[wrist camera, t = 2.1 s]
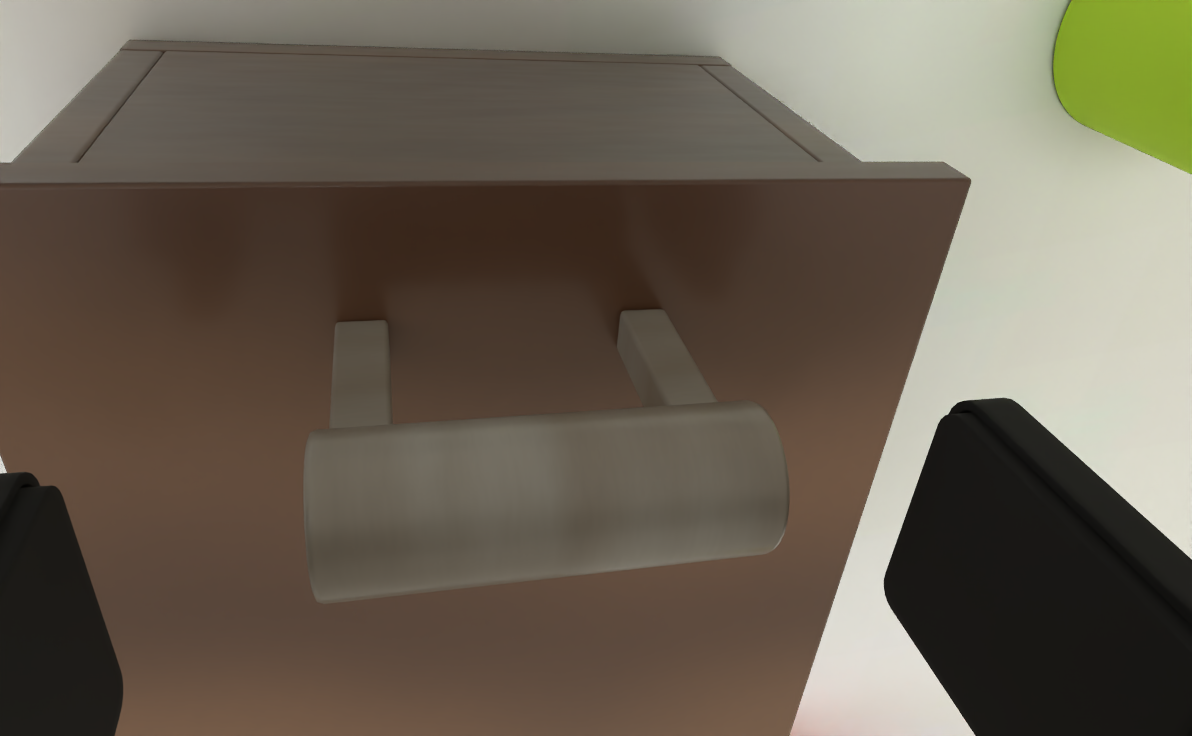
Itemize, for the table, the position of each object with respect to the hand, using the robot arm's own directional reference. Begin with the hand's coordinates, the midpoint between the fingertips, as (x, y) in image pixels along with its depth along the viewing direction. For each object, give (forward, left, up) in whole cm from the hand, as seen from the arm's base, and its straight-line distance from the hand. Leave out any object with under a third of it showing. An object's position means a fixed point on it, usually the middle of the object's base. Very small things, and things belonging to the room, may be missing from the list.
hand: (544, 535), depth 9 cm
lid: (+6, 0, -5) cm, 7 cm away
